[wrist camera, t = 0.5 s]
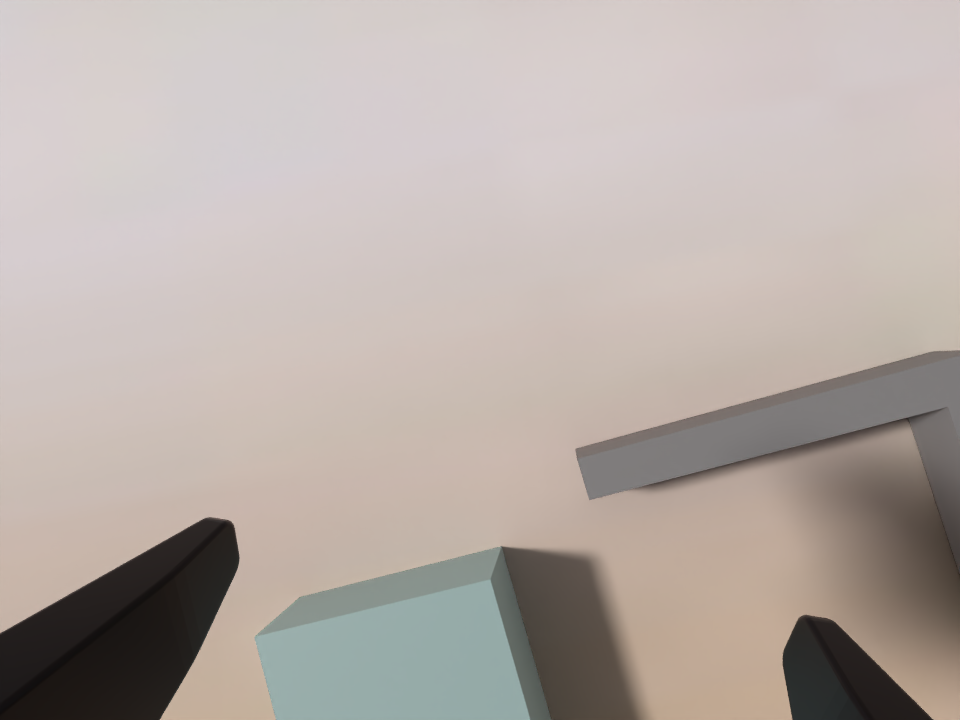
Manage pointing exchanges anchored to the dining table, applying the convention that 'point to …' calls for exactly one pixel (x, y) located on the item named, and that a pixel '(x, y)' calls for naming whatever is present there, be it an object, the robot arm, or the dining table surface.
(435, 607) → the teal carton
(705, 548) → the dining table surface
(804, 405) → the bracket
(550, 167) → the dining table surface
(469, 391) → the dining table surface
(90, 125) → the dining table surface
